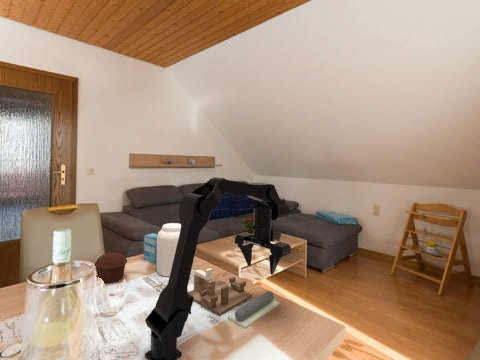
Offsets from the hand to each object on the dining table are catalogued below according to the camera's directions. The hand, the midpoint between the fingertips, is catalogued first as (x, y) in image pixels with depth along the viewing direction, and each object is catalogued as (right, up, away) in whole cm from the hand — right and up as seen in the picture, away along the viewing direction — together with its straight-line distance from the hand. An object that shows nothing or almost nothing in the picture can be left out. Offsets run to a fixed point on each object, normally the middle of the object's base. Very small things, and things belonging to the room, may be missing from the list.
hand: (260, 269), depth 86 cm
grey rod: (-2, -11, -1) cm, 11 cm away
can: (-36, -10, +27) cm, 46 cm away
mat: (-2, -13, -1) cm, 13 cm away
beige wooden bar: (-20, -5, +8) cm, 22 cm away
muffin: (-57, -10, +18) cm, 61 cm away
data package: (-46, -9, +37) cm, 59 cm away
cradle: (-14, -12, +7) cm, 20 cm away
